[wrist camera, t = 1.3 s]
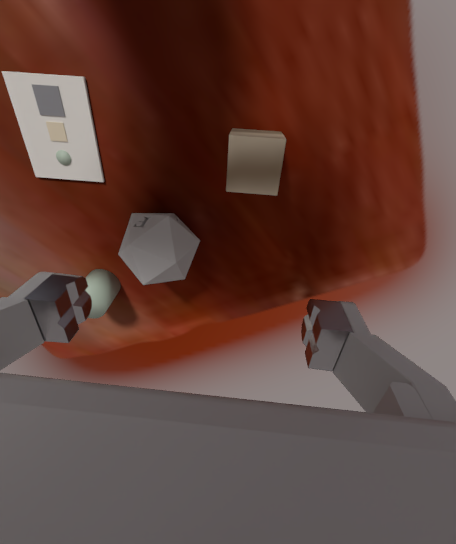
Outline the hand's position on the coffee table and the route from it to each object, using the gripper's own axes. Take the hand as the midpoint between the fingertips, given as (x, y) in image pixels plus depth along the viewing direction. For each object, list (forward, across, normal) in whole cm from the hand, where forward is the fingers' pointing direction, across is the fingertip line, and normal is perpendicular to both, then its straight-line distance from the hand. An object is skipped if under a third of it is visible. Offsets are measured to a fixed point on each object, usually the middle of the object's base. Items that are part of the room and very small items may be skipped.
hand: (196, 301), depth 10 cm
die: (+24, +8, +9) cm, 27 cm away
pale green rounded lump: (+24, +18, +18) cm, 35 cm away
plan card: (+24, +19, -2) cm, 30 cm away
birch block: (+24, -2, -1) cm, 24 cm away
